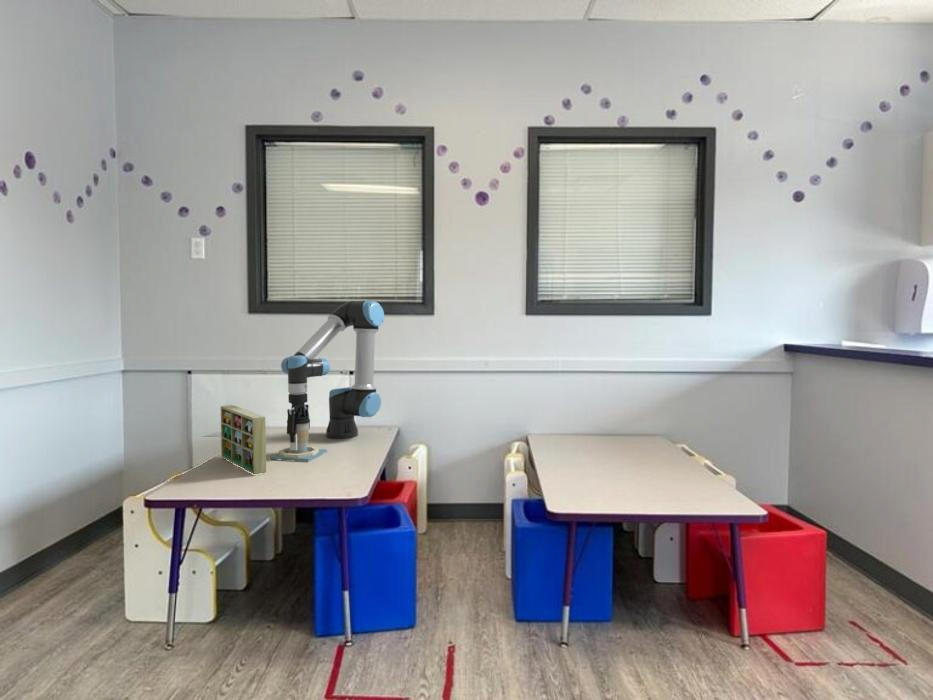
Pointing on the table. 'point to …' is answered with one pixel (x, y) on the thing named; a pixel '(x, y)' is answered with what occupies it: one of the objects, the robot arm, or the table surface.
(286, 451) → the ring mat
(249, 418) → the beige cubby shelf
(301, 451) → the coffee cup
